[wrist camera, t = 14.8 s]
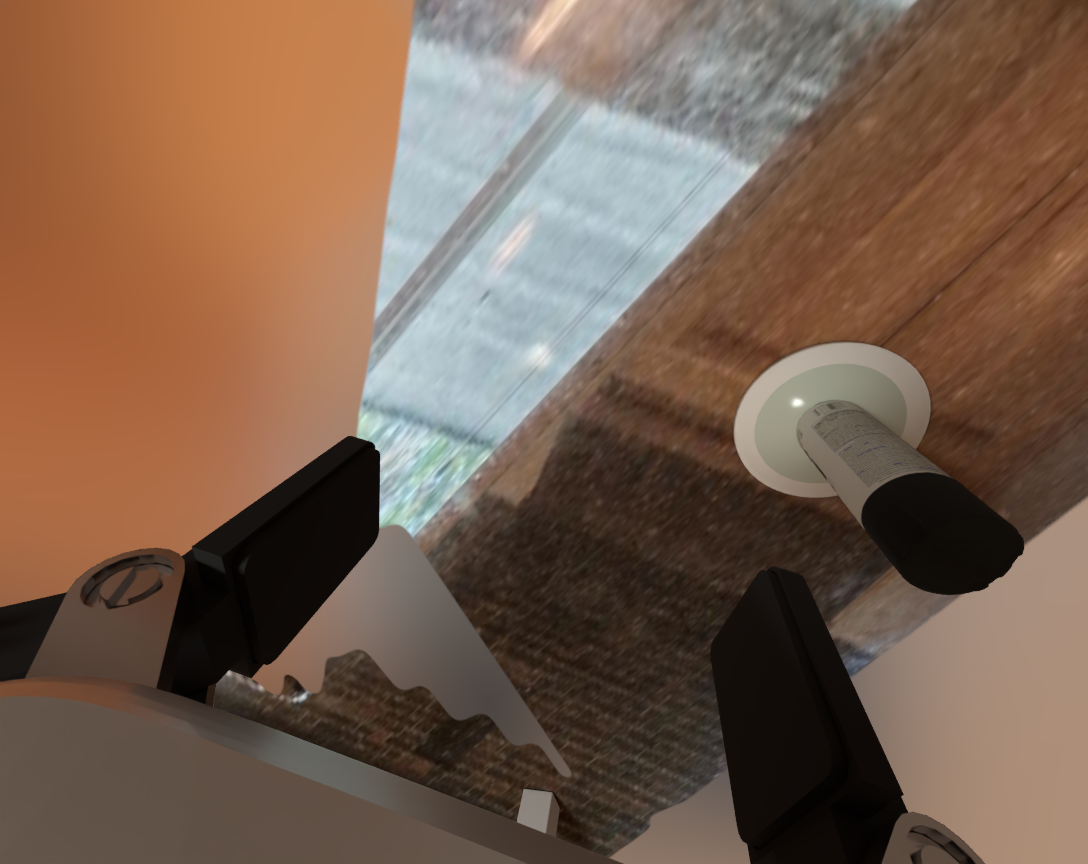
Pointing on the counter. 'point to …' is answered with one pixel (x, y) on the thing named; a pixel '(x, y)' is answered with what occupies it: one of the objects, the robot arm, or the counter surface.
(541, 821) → the milk carton
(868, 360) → the dish
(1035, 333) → the counter surface
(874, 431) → the spray can
